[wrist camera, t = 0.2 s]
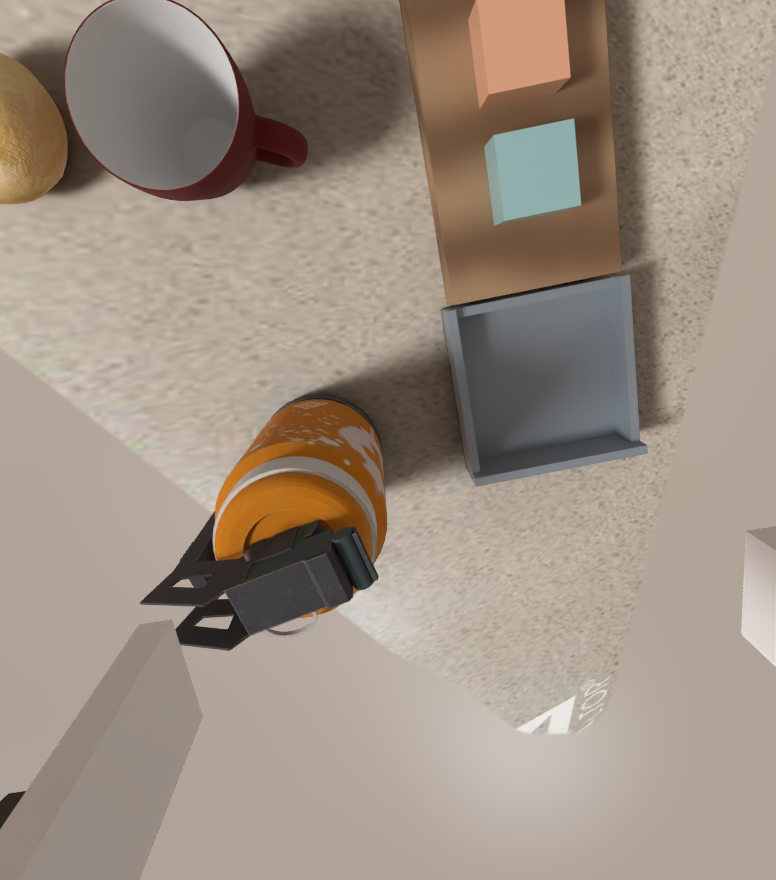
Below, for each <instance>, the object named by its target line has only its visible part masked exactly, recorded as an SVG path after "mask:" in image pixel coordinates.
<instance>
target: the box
mask: <svg viewBox="0 0 776 880" xmlns="http://www.w3.org/2000/svg"><path fill="white" fill-rule="evenodd" d="M441 314H442V320H443V327H444V333H445V339H446V345H447V352H448V358H449V364H450V370H451V376H452V383H453V389H454V395H455V401H456V407H457V414H458V420H459V426H460V432H461V439H462V445H463V451H464V457H465V463H466V468H467V470H468V472H469V474H470V476H471V478H472V479H473V481H474V483H475V485H476V486H482V485H487V484H492V483H497V482H502V481H507V480H513V479H518V478H523V477H528V476H533V475H539V474H544V473H549V472H554V471H559V470H564V469H570V468H575V467H580V466H585V465H590V464H595V463H601V462H606V461H611V460H616V459H621V458H627V457H632V456H637V455H642V454H647V453H648V450H647V445H646V444H644V443H642V442H641V441H640V431H639V415H638V398H637V381H636V365H635V348H634V331H633V315H632V298H631V281H630V275H611V276H605V277H600V278H595V279H590V280H585V281H580V282H575V283H570V284H565V285H560V286H555V287H550V288H545V289H540V290H535V291H530V292H525V293H520V294H515V295H510V296H506V297H501V298H496V299H491V300H486V301H481V302H476V303H471V304H466V305H461V306H456V307H451V308H446V309H441Z"/></svg>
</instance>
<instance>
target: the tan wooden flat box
mask: <svg viewBox="0 0 776 880" xmlns="http://www.w3.org/2000/svg"><path fill="white" fill-rule="evenodd" d="M399 1H400V7H401V14H402V20H403V26H404V33H405V39H406V46H407V52H408V58H409V65H410V71H411V77H412V84H413V90H414V96H415V103H416V109H417V116H418V122H419V128H420V135H421V141H422V147H423V154H424V160H425V167H426V173H427V179H428V186H429V192H430V198H431V205H432V211H433V217H434V224H435V230H436V237H437V243H438V249H439V256H440V262H441V268H442V275H443V281H444V287H445V294H446V300H447V304H450V305H457V304H462V303H467V302H472V301H477V300H482V299H487V298H492V297H497V296H502V295H507V294H512V293H517V292H522V291H527V290H532V289H537V288H542V287H547V286H552V285H557V284H562V283H567V282H572V281H577V280H582V279H587V278H592V277H597V276H602V275H607V274H612V273H617V272H621V271H622V262H621V246H620V231H619V215H618V200H617V184H616V168H615V153H614V137H613V121H612V106H611V90H610V75H609V59H608V43H607V28H606V12H605V0H564V2H565V14H566V26H567V39H568V51H569V63H570V75H571V77H570V79H569V80H568V81H567V82H566V83H565V84H564V85H563V86H562V87H561V88H560V89H559V90H558V91H557V92H556V93H555V94H550V95H546V96H541V97H536V98H531V99H526V100H522V101H517V102H512V103H507V104H502V105H498V106H493V107H488V108H483V109H479V101H478V94H477V86H476V78H475V70H474V62H473V54H472V46H471V38H470V31H469V23H468V19H469V17H470V14H471V11H472V9H473V6H474V3H475V0H399ZM569 119H574V124H575V136H576V148H577V160H578V172H579V184H580V197H581V206H578V207H576V208H573V209H570V210H568V211H565V212H560V213H555V214H550V215H545V216H540V217H535V218H530V219H525V220H521V221H516V222H511V223H506V224H501V225H496V226H494V220H493V212H492V204H491V196H490V188H489V180H488V172H487V164H486V157H485V149H484V146H485V145H486V144H487V143H488V141H489V140H490V139H491V138H492V137H493V135H497V134H501V133H506V132H511V131H516V130H521V129H525V128H530V127H535V126H540V125H545V124H550V123H554V122H559V121H564V120H569Z"/></svg>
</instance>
